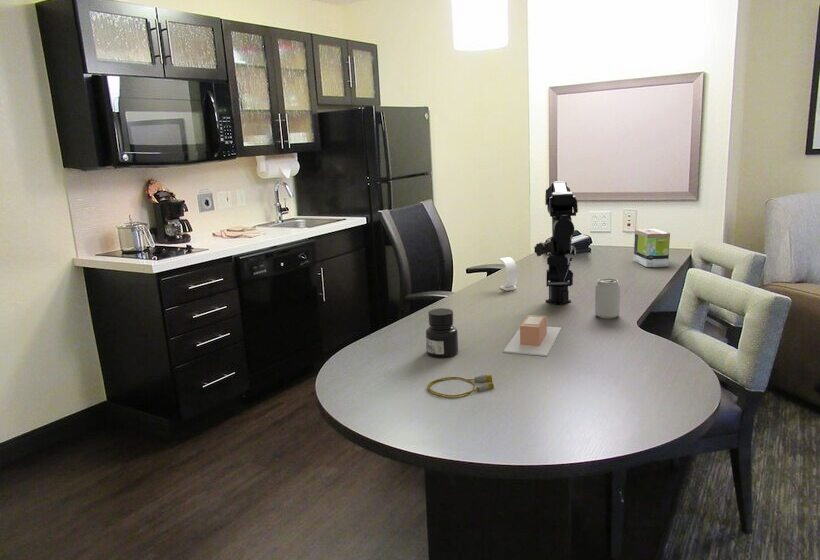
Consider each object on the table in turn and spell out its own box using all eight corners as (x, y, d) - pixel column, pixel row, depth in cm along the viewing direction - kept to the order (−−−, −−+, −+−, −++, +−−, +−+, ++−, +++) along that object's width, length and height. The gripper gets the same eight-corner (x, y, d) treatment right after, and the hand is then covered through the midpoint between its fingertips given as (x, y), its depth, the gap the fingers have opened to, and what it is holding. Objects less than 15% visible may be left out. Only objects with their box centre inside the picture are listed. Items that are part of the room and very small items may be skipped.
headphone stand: (509, 286, 229) (509, 256, 226) (518, 289, 224) (518, 259, 221) (499, 288, 227) (499, 258, 225) (508, 291, 222) (508, 260, 219)
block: (528, 314, 171) (519, 325, 162) (546, 315, 169) (539, 326, 159) (528, 332, 173) (520, 344, 163) (546, 333, 170) (539, 346, 161)
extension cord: (489, 403, 130) (489, 395, 129) (422, 398, 134) (421, 390, 134) (497, 381, 141) (497, 373, 141) (435, 377, 146) (434, 370, 145)
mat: (522, 325, 180) (522, 324, 180) (561, 328, 175) (561, 327, 175) (503, 352, 159) (503, 350, 159) (547, 356, 154) (547, 354, 154)
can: (621, 319, 181) (622, 282, 178) (596, 319, 182) (597, 282, 180) (617, 312, 188) (618, 276, 185) (593, 312, 190) (594, 277, 187)
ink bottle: (421, 350, 164) (418, 310, 161) (448, 344, 167) (446, 305, 164) (435, 361, 155) (433, 318, 152) (464, 355, 158) (463, 313, 156)
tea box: (669, 266, 247) (670, 232, 244) (645, 267, 247) (647, 233, 244) (655, 259, 262) (656, 227, 258) (632, 261, 262) (634, 228, 259)
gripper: (541, 228, 191) (542, 274, 195) (530, 237, 175) (530, 287, 178) (576, 228, 187) (575, 275, 191) (567, 238, 170) (567, 289, 174)
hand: (561, 281), depth 184 cm, fingers closed
